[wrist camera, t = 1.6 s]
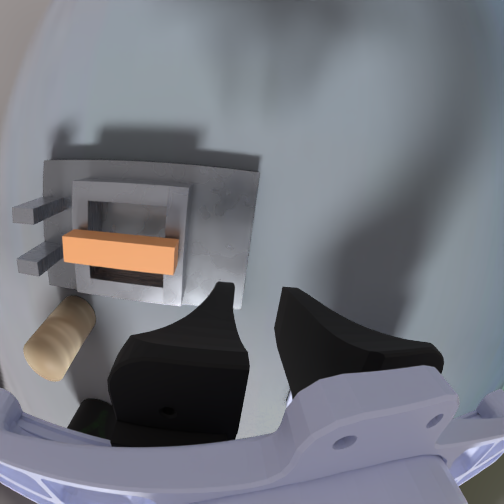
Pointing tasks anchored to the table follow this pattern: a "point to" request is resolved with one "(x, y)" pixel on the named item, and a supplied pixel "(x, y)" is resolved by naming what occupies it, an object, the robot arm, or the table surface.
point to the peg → (60, 338)
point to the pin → (121, 251)
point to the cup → (94, 419)
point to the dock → (145, 225)
